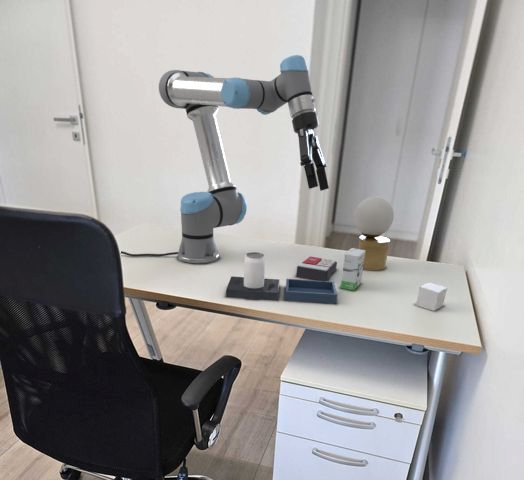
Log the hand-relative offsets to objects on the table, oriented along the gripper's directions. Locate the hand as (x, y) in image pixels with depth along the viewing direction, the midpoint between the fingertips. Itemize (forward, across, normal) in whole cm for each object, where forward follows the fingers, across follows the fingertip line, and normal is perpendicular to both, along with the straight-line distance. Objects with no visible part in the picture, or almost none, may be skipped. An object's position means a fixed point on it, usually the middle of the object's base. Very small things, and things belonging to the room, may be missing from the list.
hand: (319, 188), depth 134 cm
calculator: (+26, +16, +11) cm, 33 cm away
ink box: (+32, +9, -1) cm, 34 cm away
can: (+26, -11, +25) cm, 38 cm away
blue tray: (+31, -5, +9) cm, 33 cm away
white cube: (+43, +4, -25) cm, 50 cm away
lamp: (+28, +35, -4) cm, 45 cm away
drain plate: (+25, -11, +25) cm, 37 cm away
